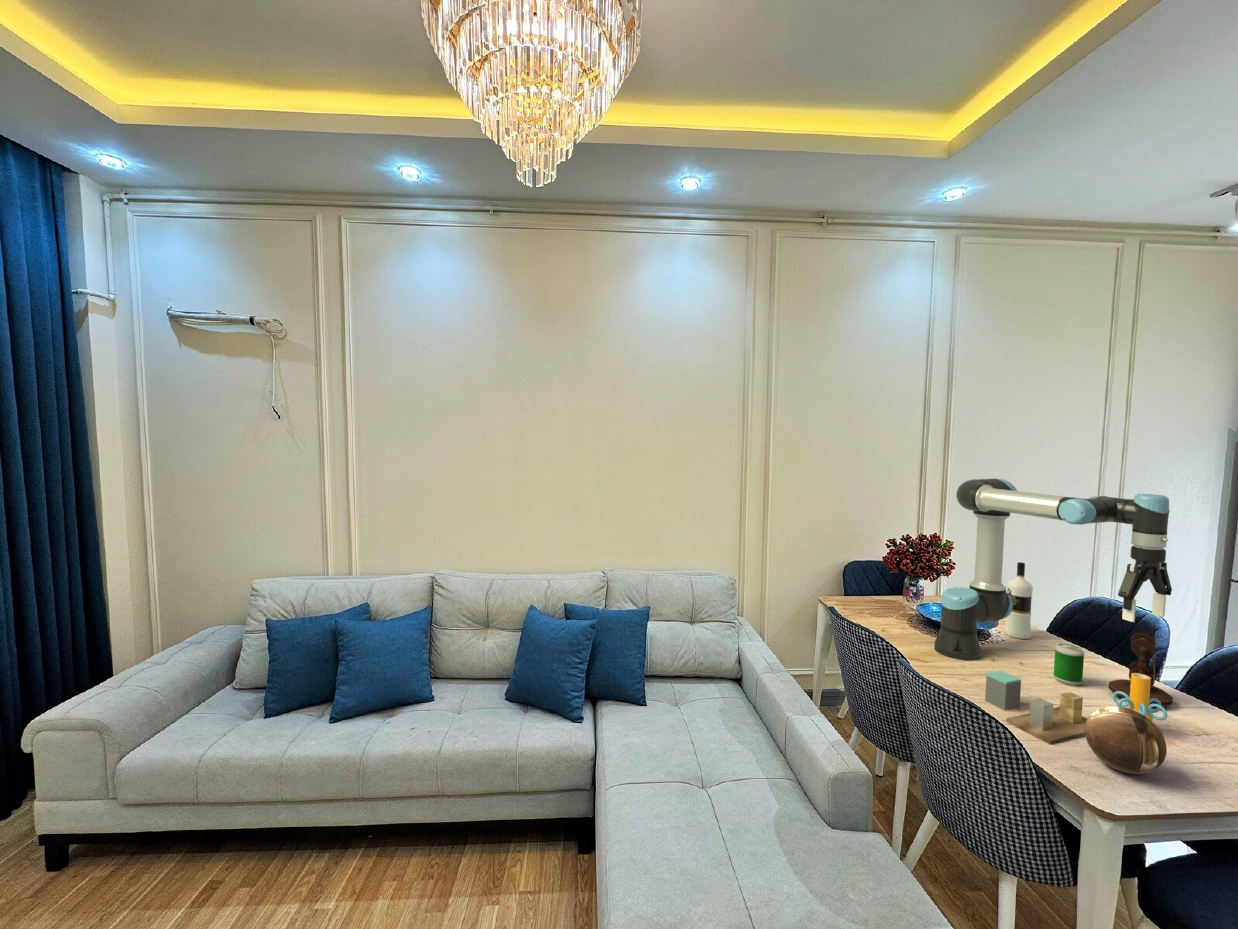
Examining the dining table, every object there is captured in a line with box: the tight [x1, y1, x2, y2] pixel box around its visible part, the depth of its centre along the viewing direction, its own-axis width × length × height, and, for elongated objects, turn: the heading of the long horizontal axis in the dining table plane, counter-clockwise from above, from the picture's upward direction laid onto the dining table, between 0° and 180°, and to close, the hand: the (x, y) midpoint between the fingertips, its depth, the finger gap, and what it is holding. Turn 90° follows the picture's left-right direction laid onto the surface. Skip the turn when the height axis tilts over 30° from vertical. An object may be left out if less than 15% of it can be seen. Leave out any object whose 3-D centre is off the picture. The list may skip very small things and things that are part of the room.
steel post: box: [1029, 697, 1054, 731], centre depth 156 cm, size 4×4×7 cm
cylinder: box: [1111, 673, 1168, 723], centre depth 157 cm, size 12×10×15 cm
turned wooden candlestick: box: [1107, 632, 1174, 711], centre depth 174 cm, size 15×15×20 cm
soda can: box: [1053, 642, 1085, 687], centre depth 186 cm, size 8×8×12 cm
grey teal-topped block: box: [984, 670, 1022, 711], centre depth 171 cm, size 6×6×9 cm
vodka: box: [1003, 561, 1034, 640], centre depth 226 cm, size 9×9×30 cm
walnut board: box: [1006, 691, 1088, 745], centre depth 158 cm, size 12×22×8 cm, turn 109°
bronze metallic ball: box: [1085, 705, 1168, 775], centre depth 139 cm, size 15×15×15 cm
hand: (1143, 618), depth 166 cm, fingers open, 13 cm apart
